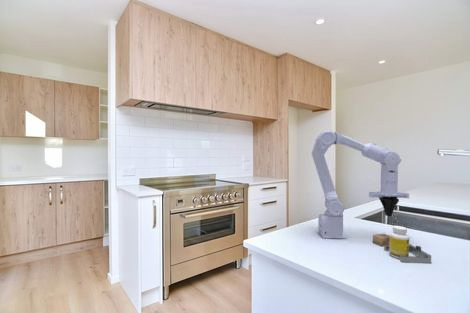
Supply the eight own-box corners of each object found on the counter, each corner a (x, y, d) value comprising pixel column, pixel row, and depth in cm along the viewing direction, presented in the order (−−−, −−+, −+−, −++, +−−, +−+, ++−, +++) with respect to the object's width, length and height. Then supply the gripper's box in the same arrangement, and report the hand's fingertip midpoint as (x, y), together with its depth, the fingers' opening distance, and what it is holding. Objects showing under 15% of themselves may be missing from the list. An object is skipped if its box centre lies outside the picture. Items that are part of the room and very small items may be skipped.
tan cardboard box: (381, 246, 90) (381, 238, 90) (372, 242, 94) (372, 234, 94) (394, 244, 92) (394, 236, 92) (384, 241, 96) (384, 233, 96)
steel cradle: (401, 262, 77) (402, 251, 77) (384, 249, 87) (384, 240, 87) (431, 263, 77) (431, 252, 76) (409, 250, 87) (410, 241, 86)
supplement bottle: (410, 261, 78) (410, 231, 78) (390, 257, 80) (390, 228, 80) (407, 254, 83) (407, 226, 83) (388, 251, 85) (389, 224, 85)
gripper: (375, 182, 93) (375, 217, 93) (414, 183, 92) (414, 218, 92) (366, 180, 100) (366, 213, 100) (402, 181, 99) (402, 214, 99)
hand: (388, 215), depth 96 cm, fingers closed
